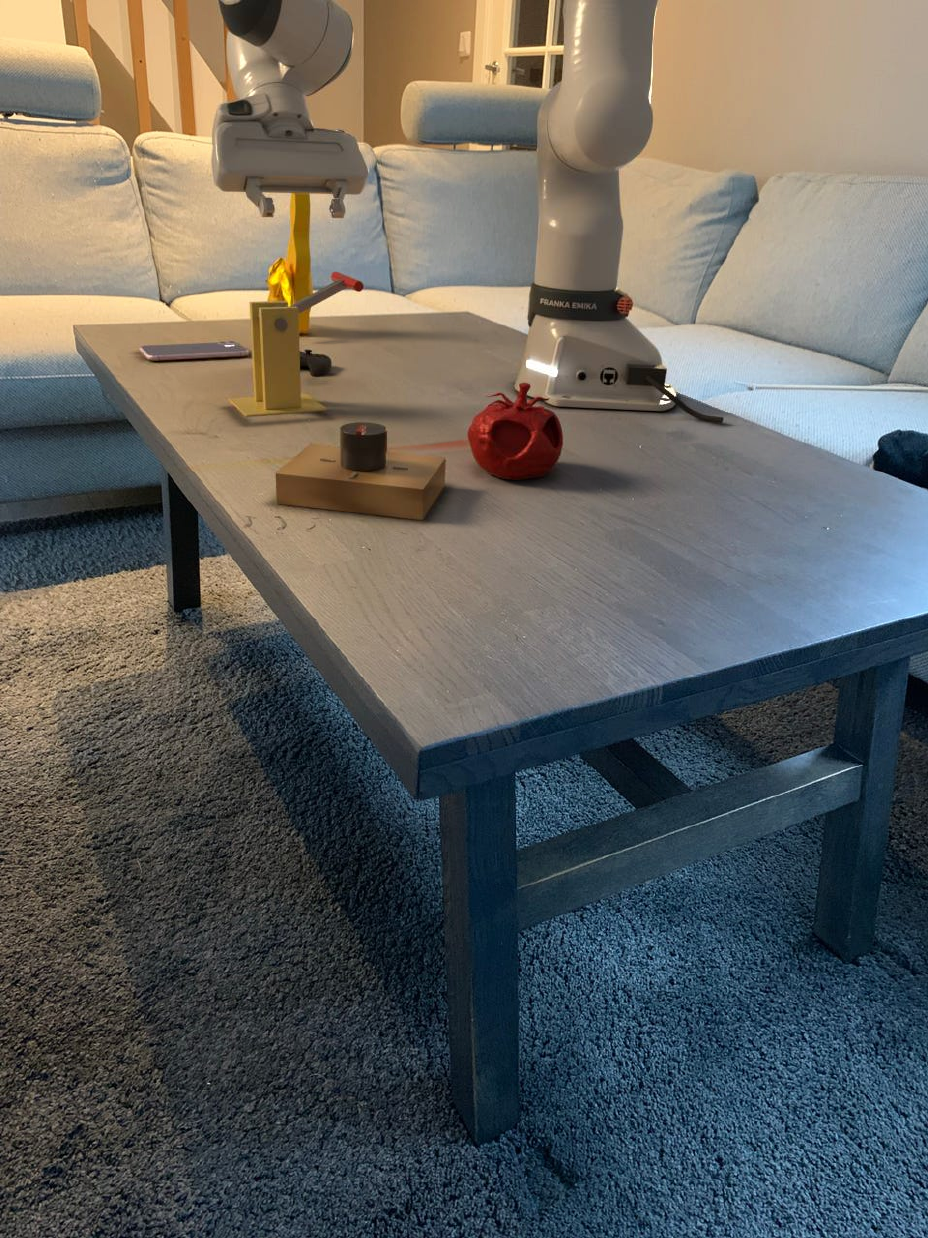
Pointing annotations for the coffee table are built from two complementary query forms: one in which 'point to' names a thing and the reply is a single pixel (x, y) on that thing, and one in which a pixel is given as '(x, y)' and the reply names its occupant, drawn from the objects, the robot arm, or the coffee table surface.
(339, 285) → the lever
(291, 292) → the figure statuette
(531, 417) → the red hollowed tomato
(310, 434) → the coffee table surface
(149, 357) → the mobile phone
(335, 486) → the knob base block
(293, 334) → the yellow upright double-plate block
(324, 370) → the gaming controller
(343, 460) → the dial knob
